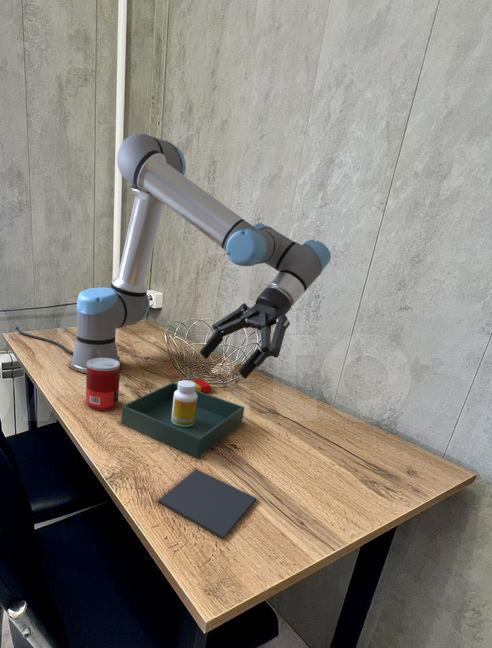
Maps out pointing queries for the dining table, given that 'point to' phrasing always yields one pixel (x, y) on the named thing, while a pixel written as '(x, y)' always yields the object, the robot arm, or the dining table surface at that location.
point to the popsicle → (201, 385)
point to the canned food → (102, 383)
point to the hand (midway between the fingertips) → (221, 364)
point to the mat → (208, 502)
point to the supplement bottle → (184, 404)
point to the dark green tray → (195, 440)
